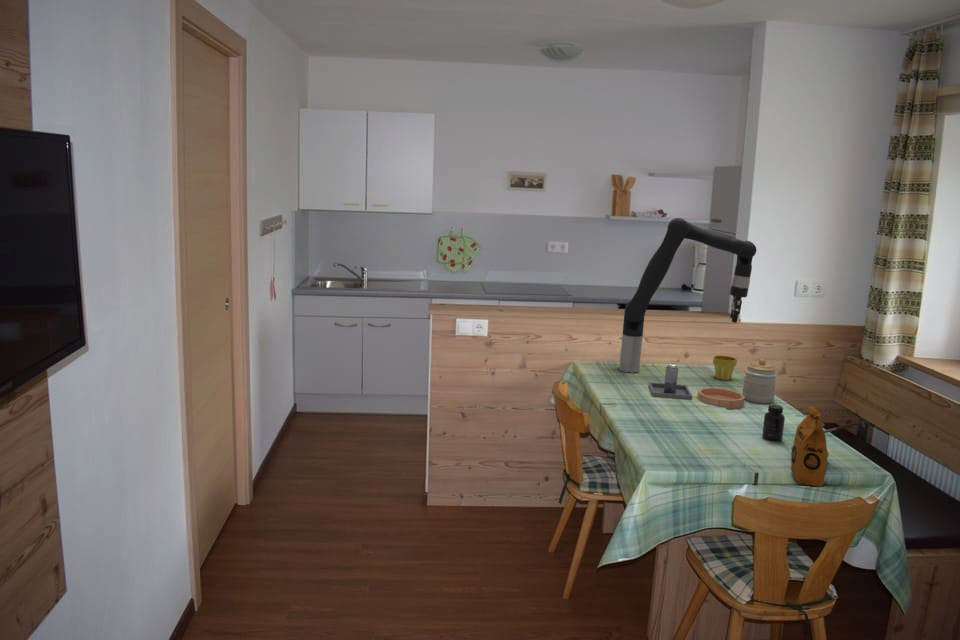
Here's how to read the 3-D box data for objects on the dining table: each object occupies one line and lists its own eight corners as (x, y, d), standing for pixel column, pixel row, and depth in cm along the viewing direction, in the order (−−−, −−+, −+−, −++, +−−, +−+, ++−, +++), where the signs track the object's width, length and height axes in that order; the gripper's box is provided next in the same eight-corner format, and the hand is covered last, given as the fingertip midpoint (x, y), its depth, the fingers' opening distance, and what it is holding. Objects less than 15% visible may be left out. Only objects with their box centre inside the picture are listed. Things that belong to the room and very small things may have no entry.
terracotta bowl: (701, 406, 306) (702, 398, 305) (694, 394, 323) (695, 386, 323) (747, 410, 304) (748, 402, 303) (737, 397, 322) (738, 389, 321)
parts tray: (652, 398, 314) (652, 392, 313) (648, 387, 329) (648, 382, 329) (691, 401, 312) (692, 395, 311) (685, 390, 328) (686, 385, 327)
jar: (776, 405, 313) (781, 364, 310) (743, 402, 316) (748, 360, 312) (771, 396, 326) (776, 356, 322) (739, 393, 328) (744, 353, 325)
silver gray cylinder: (664, 393, 318) (667, 365, 316) (662, 390, 323) (665, 362, 321) (676, 394, 318) (679, 366, 315) (674, 391, 323) (677, 363, 320)
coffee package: (791, 483, 231) (800, 414, 227) (787, 469, 243) (796, 403, 238) (826, 489, 228) (836, 419, 224) (821, 474, 240) (831, 408, 236)
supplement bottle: (765, 434, 276) (769, 402, 274) (784, 438, 272) (789, 406, 270) (758, 438, 271) (763, 406, 269) (778, 443, 267) (782, 410, 265)
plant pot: (706, 375, 355) (708, 355, 353) (723, 374, 360) (725, 354, 358) (722, 381, 346) (724, 361, 344) (739, 380, 350) (741, 359, 348)
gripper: (730, 281, 349) (723, 315, 352) (732, 286, 335) (725, 322, 339) (747, 284, 347) (740, 318, 351) (750, 289, 333) (743, 325, 337)
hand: (733, 320), depth 345 cm, fingers open, 8 cm apart
